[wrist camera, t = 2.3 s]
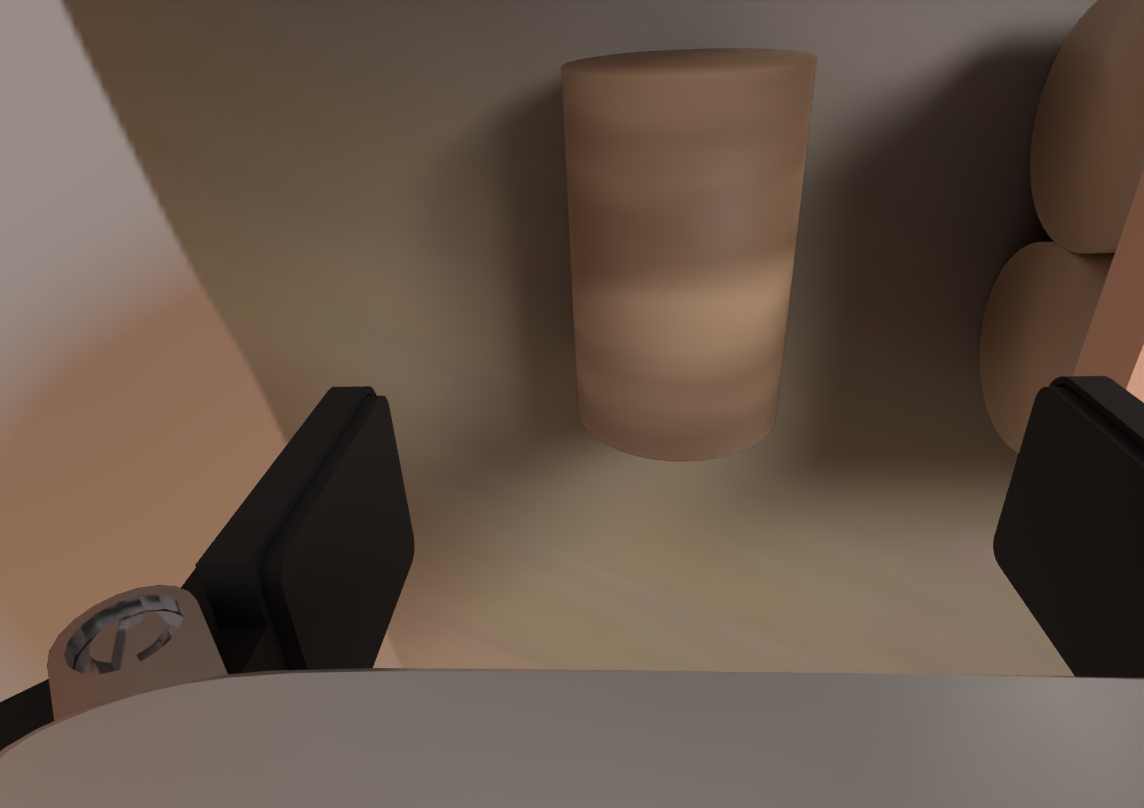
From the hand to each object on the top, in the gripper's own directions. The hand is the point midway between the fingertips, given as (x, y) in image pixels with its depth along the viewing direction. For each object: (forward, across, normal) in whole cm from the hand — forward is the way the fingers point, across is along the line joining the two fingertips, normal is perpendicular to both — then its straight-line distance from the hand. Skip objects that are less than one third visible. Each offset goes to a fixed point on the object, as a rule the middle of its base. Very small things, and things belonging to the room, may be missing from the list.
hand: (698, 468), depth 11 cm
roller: (+10, 0, -1) cm, 10 cm away
